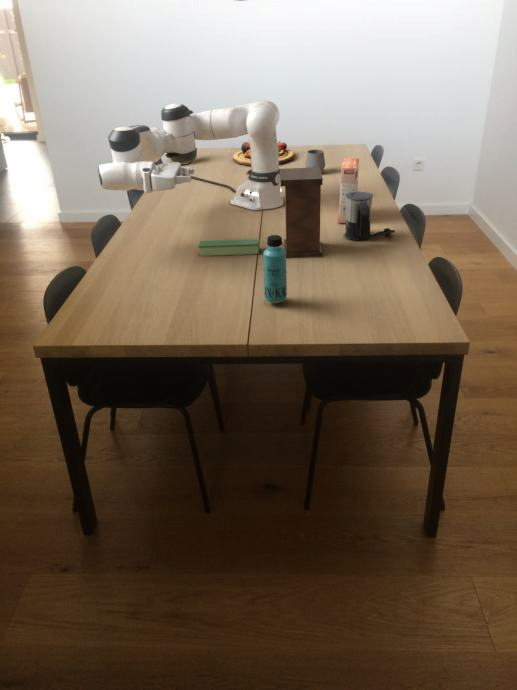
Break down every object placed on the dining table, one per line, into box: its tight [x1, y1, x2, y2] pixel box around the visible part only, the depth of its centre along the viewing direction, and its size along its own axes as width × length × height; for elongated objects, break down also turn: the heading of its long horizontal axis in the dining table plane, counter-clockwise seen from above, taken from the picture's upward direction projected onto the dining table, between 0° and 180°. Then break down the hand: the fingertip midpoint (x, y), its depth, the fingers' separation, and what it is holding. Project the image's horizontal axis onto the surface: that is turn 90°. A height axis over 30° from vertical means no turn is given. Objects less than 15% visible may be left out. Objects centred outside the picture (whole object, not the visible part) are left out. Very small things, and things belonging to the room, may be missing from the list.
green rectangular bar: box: [198, 238, 260, 257], centre depth 196 cm, size 20×5×4 cm, turn 89°
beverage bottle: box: [262, 234, 288, 304], centre depth 160 cm, size 6×7×20 cm
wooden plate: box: [232, 141, 295, 167], centre depth 298 cm, size 32×32×8 cm
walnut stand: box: [280, 167, 324, 259], centre depth 190 cm, size 13×13×26 cm
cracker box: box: [338, 157, 360, 224], centre depth 215 cm, size 14×6×21 cm, turn 168°
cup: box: [305, 149, 326, 174], centre depth 271 cm, size 10×9×10 cm
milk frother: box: [344, 190, 396, 241], centre depth 200 cm, size 14×16×15 cm
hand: (192, 174), depth 184 cm, fingers open, 8 cm apart
